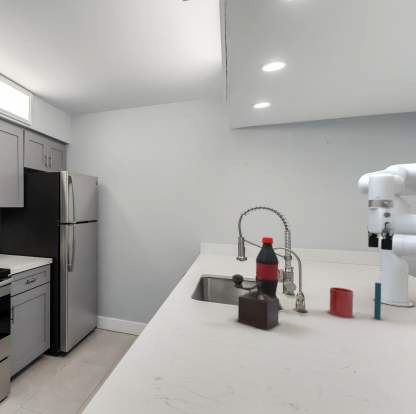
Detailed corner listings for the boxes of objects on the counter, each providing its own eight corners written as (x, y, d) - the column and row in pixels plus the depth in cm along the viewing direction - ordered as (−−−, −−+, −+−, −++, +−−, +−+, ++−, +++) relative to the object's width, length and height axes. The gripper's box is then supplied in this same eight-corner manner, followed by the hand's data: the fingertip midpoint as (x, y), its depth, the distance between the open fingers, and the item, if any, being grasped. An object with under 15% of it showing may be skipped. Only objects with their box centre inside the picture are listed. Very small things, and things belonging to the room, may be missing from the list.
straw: (374, 317, 123) (375, 282, 123) (380, 319, 122) (381, 283, 122) (373, 318, 122) (374, 282, 122) (379, 320, 121) (380, 283, 121)
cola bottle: (275, 306, 134) (276, 236, 134) (279, 312, 126) (281, 238, 126) (253, 304, 137) (254, 235, 137) (256, 310, 129) (258, 237, 129)
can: (332, 310, 131) (333, 286, 131) (354, 315, 125) (355, 290, 125) (326, 313, 127) (327, 289, 127) (349, 319, 121) (350, 293, 121)
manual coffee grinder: (248, 315, 122) (249, 269, 122) (279, 324, 114) (280, 274, 114) (228, 324, 112) (229, 274, 112) (260, 334, 104) (261, 280, 104)
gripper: (406, 204, 114) (405, 251, 114) (380, 206, 131) (379, 247, 131) (380, 204, 117) (379, 250, 117) (358, 205, 133) (357, 245, 133)
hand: (379, 248), depth 124 cm, fingers open, 9 cm apart
